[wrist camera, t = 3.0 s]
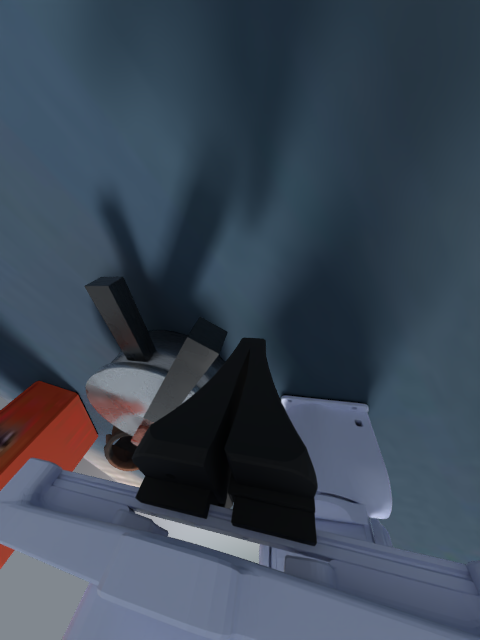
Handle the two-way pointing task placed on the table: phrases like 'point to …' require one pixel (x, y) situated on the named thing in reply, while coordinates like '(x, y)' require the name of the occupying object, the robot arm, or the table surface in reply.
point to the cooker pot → (138, 329)
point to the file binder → (42, 433)
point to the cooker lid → (153, 383)
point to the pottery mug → (120, 450)
